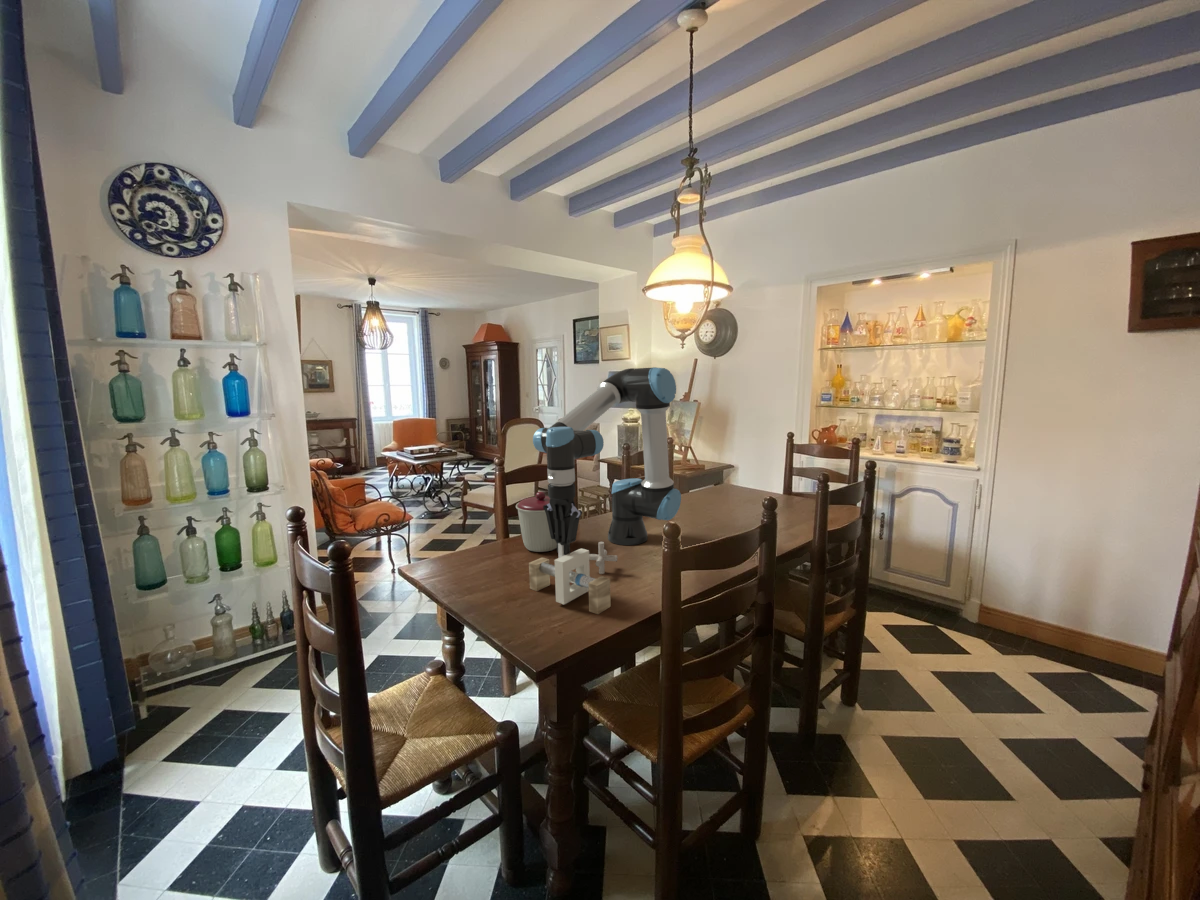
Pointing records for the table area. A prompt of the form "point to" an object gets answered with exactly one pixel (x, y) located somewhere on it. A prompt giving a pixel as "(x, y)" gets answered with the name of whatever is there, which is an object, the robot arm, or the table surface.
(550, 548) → the canister
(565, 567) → the collar
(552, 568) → the steel rod
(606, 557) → the pipe connector
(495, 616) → the table surface
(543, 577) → the rod support stand
